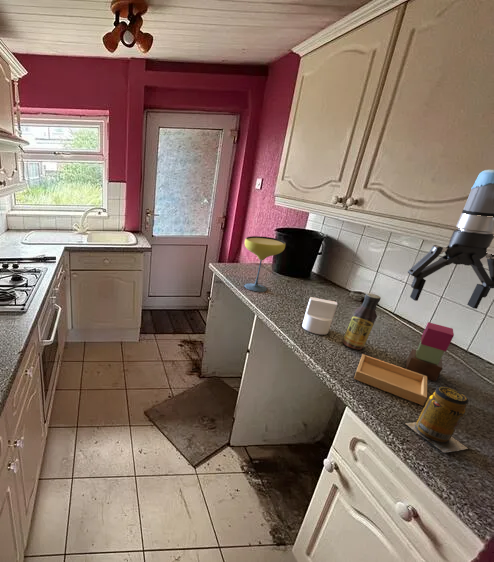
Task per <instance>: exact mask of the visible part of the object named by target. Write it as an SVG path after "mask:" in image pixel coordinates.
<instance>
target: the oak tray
mask: <svg viewBox="0 0 494 562" xmlns="http://www.w3.org/2000/svg"><path fill="white" fill-rule="evenodd" d="M353 380H356V381H359V382H361V383H363V384H366V385H369V386H371V387H374V388H376V389H379V390H382V391H384V392H386V393H389V394H392V395H395V396H396V397H400V398H402V399H405V400H407V401H410V402H412V403H415V404H417V405H420V406H422V407H423V406H425V404H426V402H427V400H428V379H427V376H425V375H422V374H419V373H416V372H413V371H410V370H408V369H406V367H405V368H404V367H401V366H399V365H396V364H392V363H391V362H387V361H384V360H382V359H378V358H375V357H372V356H370V355H366V354H364V353H362V354H361V357H360V360H359V362H358V365H357V368H356V371H355V374H354V377H353Z"/></svg>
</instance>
